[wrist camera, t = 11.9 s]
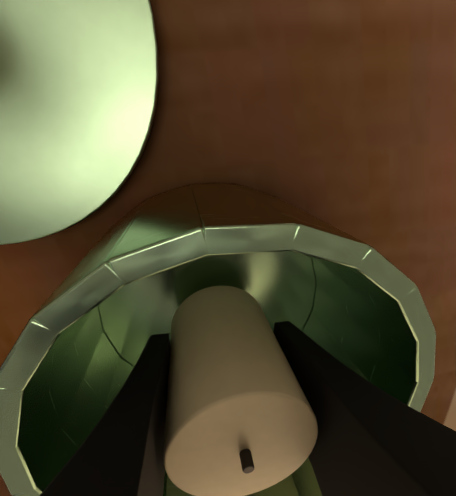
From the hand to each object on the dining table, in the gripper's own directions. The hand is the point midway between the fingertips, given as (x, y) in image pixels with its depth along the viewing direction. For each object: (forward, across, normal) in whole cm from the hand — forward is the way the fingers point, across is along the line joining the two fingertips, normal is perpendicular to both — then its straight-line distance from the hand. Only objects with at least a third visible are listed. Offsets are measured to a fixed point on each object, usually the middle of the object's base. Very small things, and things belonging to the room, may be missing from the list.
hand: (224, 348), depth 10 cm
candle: (+1, 0, 0) cm, 1 cm away
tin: (+3, 0, 0) cm, 3 cm away
